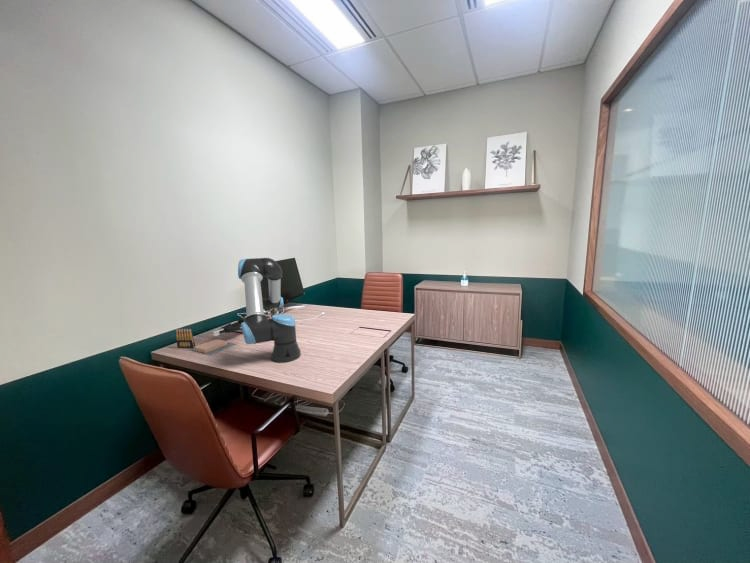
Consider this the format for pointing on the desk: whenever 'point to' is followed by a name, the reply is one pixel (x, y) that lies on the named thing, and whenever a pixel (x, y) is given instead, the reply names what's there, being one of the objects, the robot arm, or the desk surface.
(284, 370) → the desk surface
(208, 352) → the rubber mat
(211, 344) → the pale rectangular block
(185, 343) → the ammunition clip
